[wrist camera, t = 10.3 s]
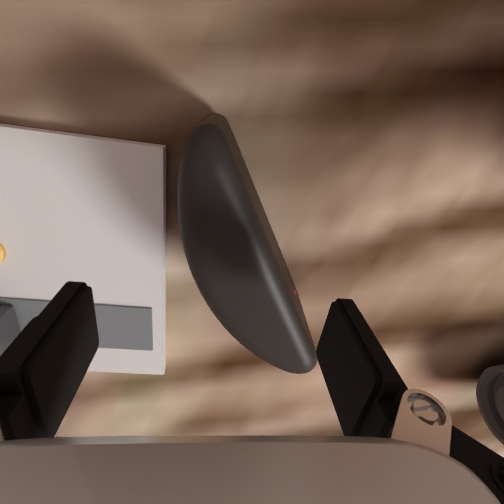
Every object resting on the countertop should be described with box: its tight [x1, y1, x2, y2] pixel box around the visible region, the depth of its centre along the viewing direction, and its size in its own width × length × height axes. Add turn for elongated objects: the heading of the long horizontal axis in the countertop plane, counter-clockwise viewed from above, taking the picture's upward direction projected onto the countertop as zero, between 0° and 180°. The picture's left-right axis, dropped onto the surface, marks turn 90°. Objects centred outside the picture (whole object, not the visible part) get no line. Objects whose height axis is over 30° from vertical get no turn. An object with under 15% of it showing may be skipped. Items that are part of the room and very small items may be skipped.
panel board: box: [0, 123, 166, 375], centre depth 23 cm, size 18×22×4 cm
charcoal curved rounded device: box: [177, 113, 317, 374], centre depth 19 cm, size 16×5×9 cm, turn 22°
